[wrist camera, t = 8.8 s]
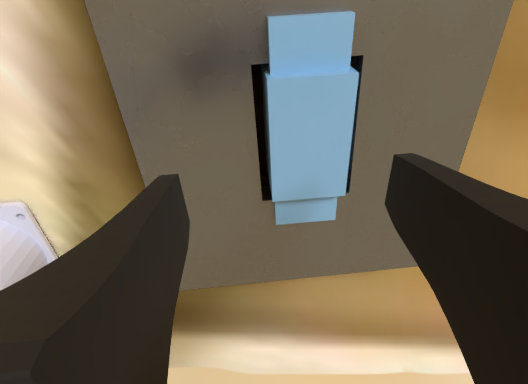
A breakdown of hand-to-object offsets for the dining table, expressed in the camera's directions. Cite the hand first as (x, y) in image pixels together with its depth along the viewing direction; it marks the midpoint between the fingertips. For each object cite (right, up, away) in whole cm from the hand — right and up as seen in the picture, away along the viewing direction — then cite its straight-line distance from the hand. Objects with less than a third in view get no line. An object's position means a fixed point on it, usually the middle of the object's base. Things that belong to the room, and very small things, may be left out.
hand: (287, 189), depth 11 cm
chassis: (+1, +5, +8) cm, 10 cm away
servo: (+1, +5, +8) cm, 10 cm away
